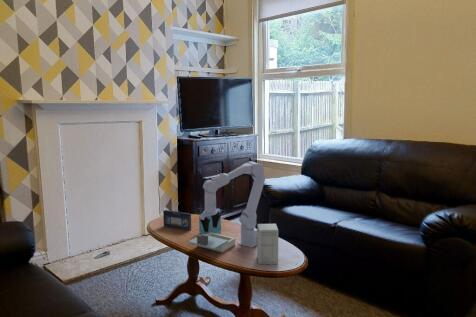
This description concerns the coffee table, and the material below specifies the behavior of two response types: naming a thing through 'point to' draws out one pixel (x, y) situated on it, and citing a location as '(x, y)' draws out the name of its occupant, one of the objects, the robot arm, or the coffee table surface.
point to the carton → (226, 246)
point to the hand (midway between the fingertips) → (210, 229)
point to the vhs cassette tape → (177, 220)
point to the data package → (210, 227)
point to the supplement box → (267, 243)
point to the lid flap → (208, 241)
